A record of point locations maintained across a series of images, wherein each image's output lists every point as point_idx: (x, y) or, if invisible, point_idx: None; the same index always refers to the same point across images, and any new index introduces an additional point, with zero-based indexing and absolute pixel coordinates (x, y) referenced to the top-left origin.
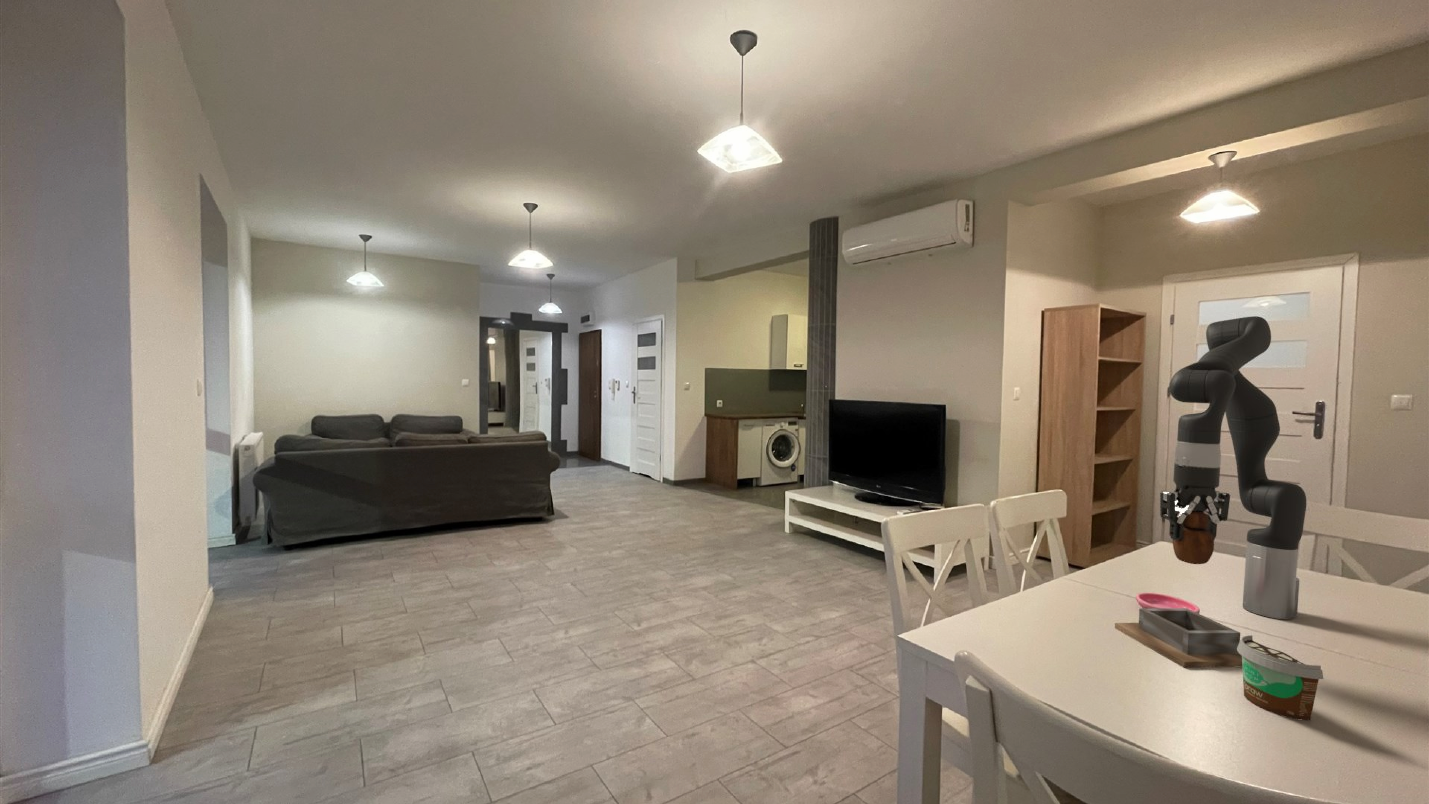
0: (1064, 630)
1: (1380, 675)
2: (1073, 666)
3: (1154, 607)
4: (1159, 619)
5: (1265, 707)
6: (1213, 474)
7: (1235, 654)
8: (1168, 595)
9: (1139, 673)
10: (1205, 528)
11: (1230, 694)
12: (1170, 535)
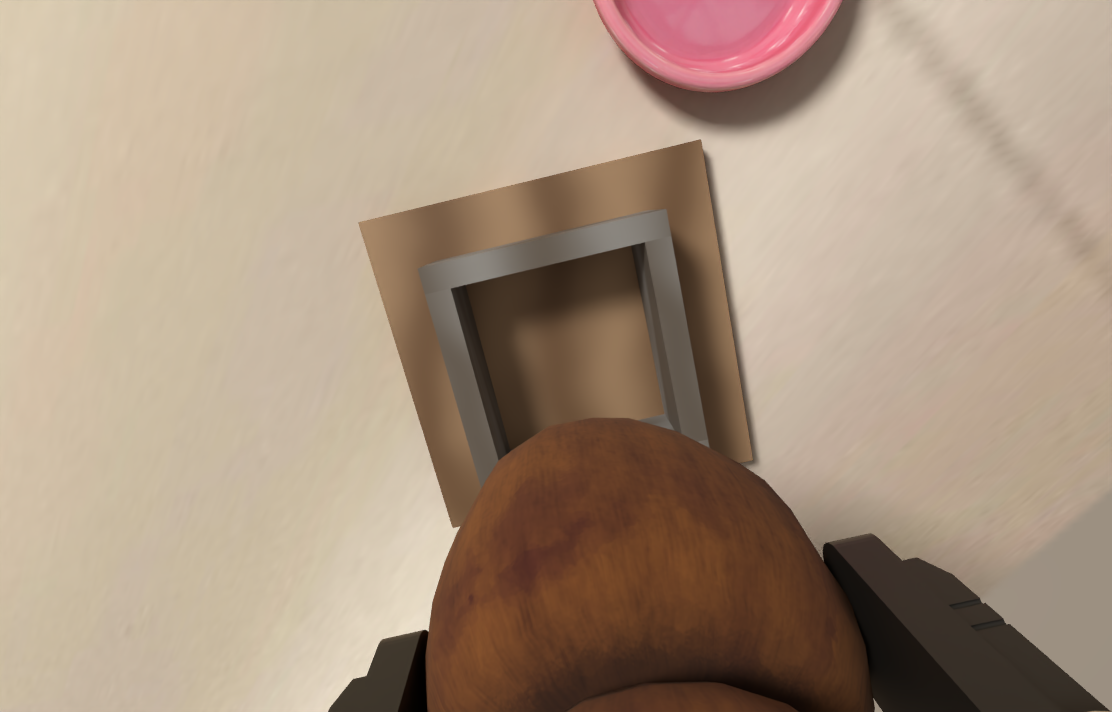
0: (143, 293)
1: (1072, 438)
2: (99, 579)
3: (612, 33)
4: (450, 379)
5: None
6: None
7: None
8: None
9: (292, 581)
10: (913, 674)
11: None
12: (349, 697)
